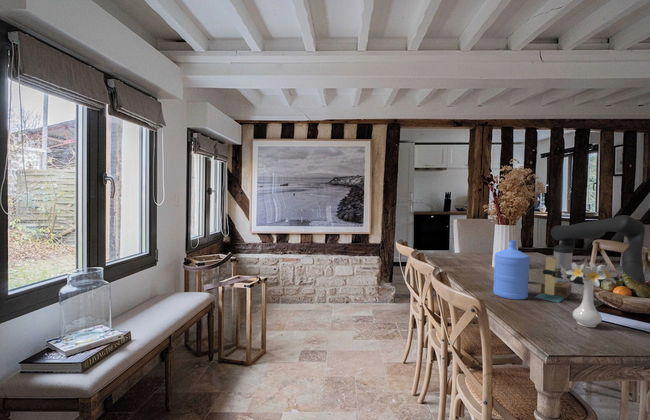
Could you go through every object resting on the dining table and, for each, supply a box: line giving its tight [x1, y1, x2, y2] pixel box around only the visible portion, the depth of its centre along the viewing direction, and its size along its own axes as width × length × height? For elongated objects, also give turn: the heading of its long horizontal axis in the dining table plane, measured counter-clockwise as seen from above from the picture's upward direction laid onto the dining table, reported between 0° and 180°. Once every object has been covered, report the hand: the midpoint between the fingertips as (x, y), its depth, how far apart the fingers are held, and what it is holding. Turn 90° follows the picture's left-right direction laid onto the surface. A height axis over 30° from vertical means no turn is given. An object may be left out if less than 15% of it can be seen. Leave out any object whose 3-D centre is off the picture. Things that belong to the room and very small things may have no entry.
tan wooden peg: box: [544, 256, 558, 295], centre depth 171 cm, size 4×4×18 cm
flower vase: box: [560, 261, 618, 328], centre depth 136 cm, size 13×18×25 cm
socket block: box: [540, 281, 572, 299], centre depth 179 cm, size 11×11×5 cm
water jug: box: [492, 239, 531, 301], centre depth 174 cm, size 16×16×28 cm
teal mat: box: [535, 292, 565, 304], centre depth 171 cm, size 10×10×1 cm
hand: (544, 270), depth 172 cm, fingers closed on tan wooden peg, 4 cm apart
